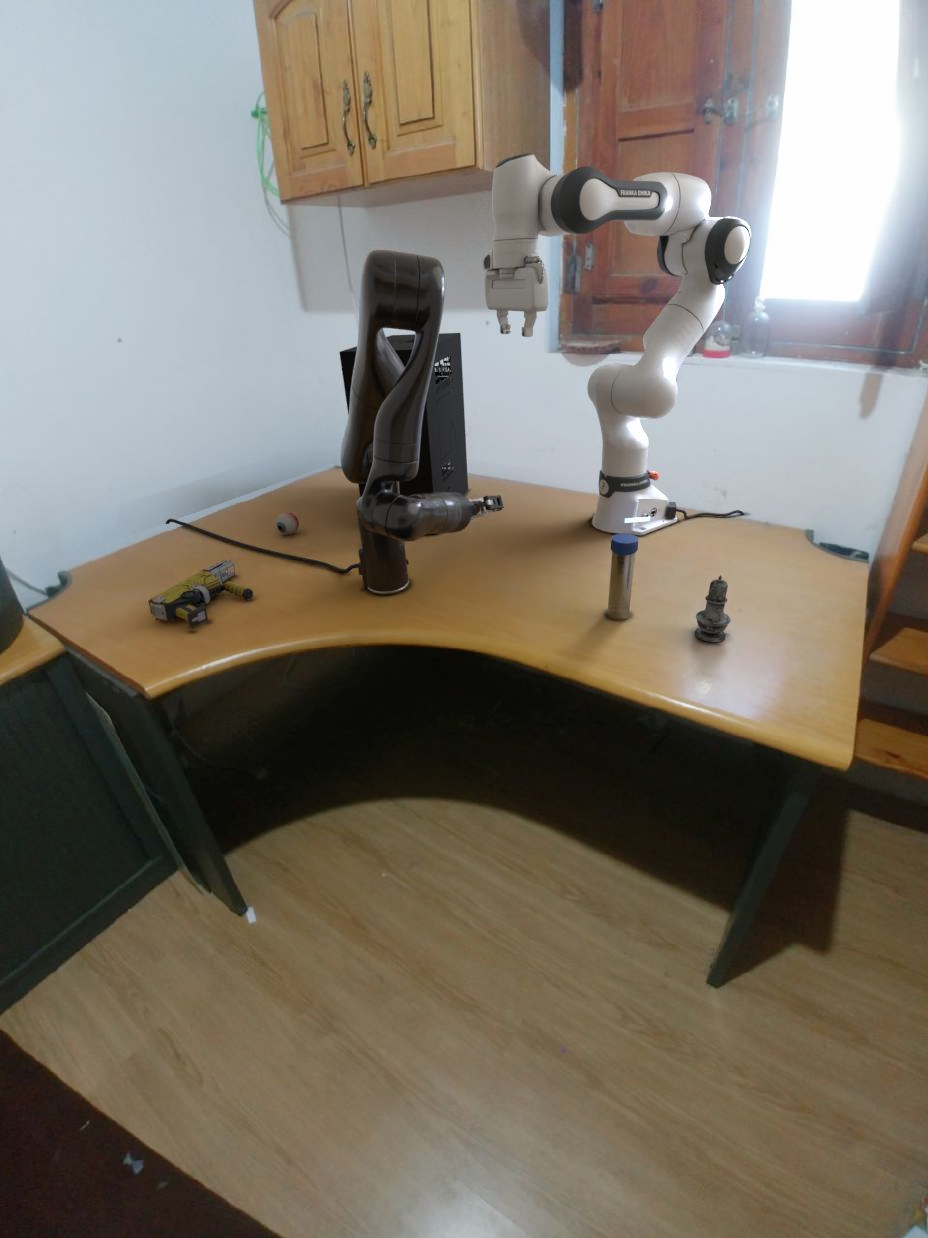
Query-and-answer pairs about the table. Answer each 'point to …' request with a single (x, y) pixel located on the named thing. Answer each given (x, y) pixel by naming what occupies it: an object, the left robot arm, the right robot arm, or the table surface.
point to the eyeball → (287, 523)
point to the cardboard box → (432, 417)
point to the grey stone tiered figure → (713, 613)
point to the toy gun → (196, 595)
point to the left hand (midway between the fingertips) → (481, 510)
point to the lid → (624, 544)
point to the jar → (620, 585)
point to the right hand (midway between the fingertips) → (516, 335)
